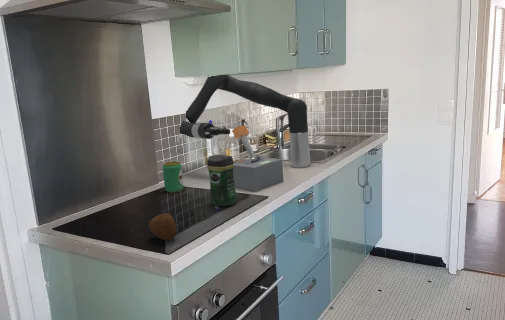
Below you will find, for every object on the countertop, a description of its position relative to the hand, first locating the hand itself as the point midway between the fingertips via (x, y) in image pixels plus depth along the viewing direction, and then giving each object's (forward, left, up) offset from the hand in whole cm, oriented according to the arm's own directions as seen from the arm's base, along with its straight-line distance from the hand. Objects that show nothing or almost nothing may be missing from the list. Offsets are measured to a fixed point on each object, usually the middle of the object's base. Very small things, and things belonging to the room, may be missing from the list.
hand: (228, 131), depth 188 cm
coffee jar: (+27, +22, -23) cm, 42 cm away
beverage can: (+24, -12, -23) cm, 35 cm away
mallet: (0, +14, -12) cm, 18 cm away
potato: (+61, +32, -23) cm, 73 cm away
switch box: (0, +14, -23) cm, 27 cm away
